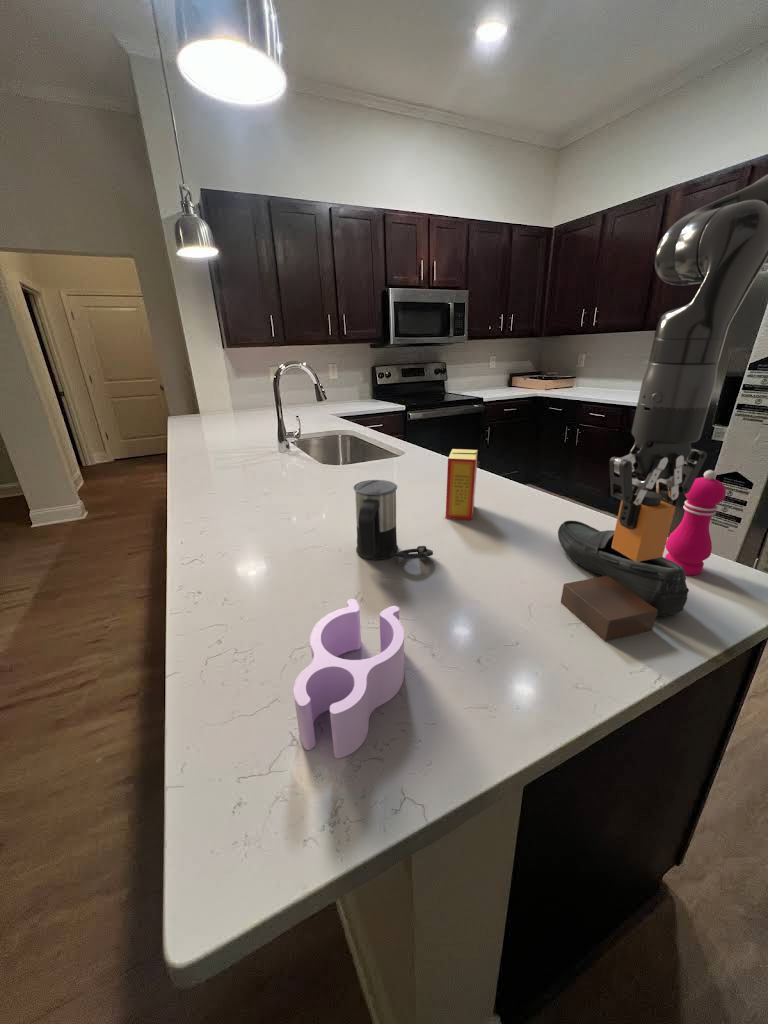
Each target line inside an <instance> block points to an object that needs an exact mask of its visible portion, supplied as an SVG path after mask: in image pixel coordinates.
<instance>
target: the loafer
mask: <svg viewBox="0 0 768 1024" xmlns="http://www.w3.org/2000/svg"><path fill="white" fill-rule="evenodd" d="M614 532H615V529H614V530H611V529H609V530H599V529H597V528H595V527H592V526H590V525H588V524H587V523H584V522H582V521H578V520H565V521H563V523H561V524H560V526H559V528H558V530H557V538H558V541H559V543H560V546H561V547H562V549H563V550H564V552H565V554H566V555H568V557H569V559H571V560H572V561H573V562H575V563H576V564H577V565H580V567H582V568H584V569H585V570H588V571H590V572H593V573H596V574H598V575H601V576H609V577H610V578H612V579H613V580H615V581H616V582H618V583H619V584H621V585H622V586H624V587H625V588H626V589H628V590H629V591H631V592H632V593H634V594H635V595H637V596H638V597H640V598H641V599H642V600H644V601H645V602H647V603H648V604H650V605H651V606H653V607H654V608H656V609H657V610H658V612H657V615H656V617H659V616H661V617H666V616H671V615H675V614H678V613H680V612H682V611H683V610H684V607H685V605H686V603H687V600H688V594H689V591H690V589H689V588H688V586H687V582H686V581H687V576H686V575H685V570H684V569H683V568H682V567H681V566H680V565H678V564H676V563H674V562H673V561H671V560H669V559H666V558H665V556H662V557H660V558H655V559H650V560H645V561H640V562H635V561H633V560H631V559H630V558H628V557H626V556H625V555H623V554H621V553H620V552H618V551H616V550H615V549H613V548H611V547H612V542H613V537H614Z"/></svg>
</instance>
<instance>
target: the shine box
mask: <svg viewBox="0 0 768 1024" xmlns="http://www.w3.org/2000/svg"><path fill="white" fill-rule="evenodd" d="M560 603H561V604H562V605H563V606H564V607H565V608H566V609H567V610H569V611H570V612H571V613H572V614H573V615H574V616H576V617H577V618H578V619H579V620H580V621H581V622H582V623H584V624H585V625H586V626H587V627H588V628H589V629H590V630H592V631H593V632H594V633H595V634H596V635H597V636H598V637H599V638H600V639H602V640H603V641H604V642H607V641H612V640H615V639H620V638H623V637H624V638H625V637H628V636H633V635H637V634H640V633H645V632H649V631H653V629H654V626H655V622H656V620H657V616H656V615H657V612H658V610H657V609H656V608H654V607H653V606H651V605H650V604H648V603H647V602H645V601H644V600H642V599H641V598H640V597H638V596H637V595H635V594H634V593H632V592H631V591H629V590H628V589H626V588H625V587H624V586H622V585H621V584H619V583H618V582H616V581H615V580H613V579H612V578H610V577H609V576H603V575H601V576H598V577H592V578H587V579H581V580H577V581H572V582H567V583H563V587H562V592H561V597H560Z"/></svg>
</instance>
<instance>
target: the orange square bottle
mask: <svg viewBox="0 0 768 1024" xmlns="http://www.w3.org/2000/svg"><path fill="white" fill-rule="evenodd" d="M661 499H662V495H660V494H658V493H656V491H650V490H648V491H647V493H646V495H645V497H644V499H643V501H642V503H641V504H640V505H642V507H641V509H640V513H639V517H638V522H637V526H636V528H635V529H631V530H629V529H627V528H626V527H624V526H622V525H621V524H620V522H619V517H620V513H621V508H622V504H623V501H622V500H620V504H619V509H618V514H617V519H616V523H615V528H614V530H615V532H614V537H613V542H612V547H611V548H613V549H615V550H616V551H618V552H620V553H621V554H623V555H625V556H626V557H628V558H630V559H631V560H633V561H635V562H640V561H645V560H650V559H655V558H660V557H664V556H663V555H664V553H665V549H666V542H667V539H668V537H669V534H670V529H671V527H672V523H673V519H674V516H675V511H676V508H677V507H676V506H675V505H673V504H672V505H671V504H668V503H666V502H663V501H661Z"/></svg>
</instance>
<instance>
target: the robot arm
mask: <svg viewBox="0 0 768 1024" xmlns="http://www.w3.org/2000/svg"><path fill="white" fill-rule="evenodd" d="M653 259H654V260H653V266H654V271H655V273H656V275H657V277H658V278H659V279H660V280H661V281H662V282H664V283H665V284H668V285H671V286H690V285H697V284H700V286H699V288H698V289H697V291H696V292H695V294H694V296H693V298H692V299H691V300H690V302H689V303H687V304H685V305H683V306H680V307H676V308H673V309H671V310H669V311H666V312H665V313H663V314H662V315H661V316H660V318H659V320H658V322H657V324H656V329H655V332H654V336H653V339H652V340H653V341H652V346H651V350H650V355H649V359H648V363H647V368H646V370H645V373H644V375H643V378H642V381H641V385H640V390H639V394H638V398H637V399H638V400H637V404H636V409H635V413H634V418H633V422H632V427H631V435H632V436H633V437H634V443H633V446H632V447H631V449H630V450H629V453H628V454H626V455H624V456H620V457H618V456H611V458H610V459H609V462H608V463H609V481H610V482H609V483H610V484H609V485H610V496H611V497H613V498H616V499H618V500H620V501H621V500H622V501H623V504H622V508H621V513H620V517H619V522H620V524H621V525H622V526H624V527H626V528H627V529H629V530H631V529H635V528H636V526H637V522H638V517H639V513H640V509H641V507H642V505H640V504H641V503H642V501H643V499H644V497H645V495H646V493H647V491H650V490H653V489H654V486H655V488H656V489H655V492H656V493H658V494H660V495H662V499H661V501H663V502H666V503H668V504H671V505H673V504H674V501H675V500H677V499H678V497H679V495H681V494H683V495H685V494H687V493H688V492H689V491H690V489H691V487H692V485H693V483H694V481H695V479H696V478H698V475H699V473H700V471H701V469H702V467H703V466H704V463H705V462H706V459H707V457H708V453H707V451H703V450H700V449H695V448H692V444H694V443H696V442H698V441H699V440H700V439H701V437H702V434H703V431H704V427H705V422H706V419H707V415H708V413H709V412H708V411H709V408H710V406H711V405H710V404H711V401H712V397H713V395H714V391H715V388H716V382H717V377H718V376H717V375H718V369H719V368H718V367H719V362H720V359H721V357H722V356H721V355H722V352H723V349H724V345H725V341H726V338H727V334H728V331H729V328H730V325H731V323H732V321H733V319H734V317H735V316H736V314H737V312H738V310H739V309H740V307H741V305H742V303H743V302H744V300H745V298H746V296H747V294H748V293H749V291H750V289H751V288H752V286H753V284H754V282H755V281H756V279H757V277H758V275H759V274H760V272H761V271H762V269H763V267H764V265H765V264H766V261H767V259H768V173H767V174H765V175H764V176H762V177H760V179H758V180H756V181H755V182H754V183H752V184H750V185H748V186H746V187H744V188H743V189H740V190H738V191H736V192H733V193H731V194H728V195H726V196H723V197H722V198H719V199H717V200H715V201H713V202H710V203H707V204H706V205H703V206H702V207H700V208H697V209H695V210H693V211H691V212H689V213H687V214H686V215H685V216H683V217H681V218H680V219H678V220H677V221H676V222H675V223H673V224H672V225H671V226H670V227H669V228H668V229H667V231H666V232H665V233H664V235H663V236H662V238H661V239H660V240H659V243H658V245H657V247H656V250H655V252H654V258H653ZM683 475H685V478H684V480H683ZM638 478H641V479H643V480H640V479H638ZM636 487H637V490H636V491H635V493H633V492H634V490H635V488H636Z"/></svg>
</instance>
